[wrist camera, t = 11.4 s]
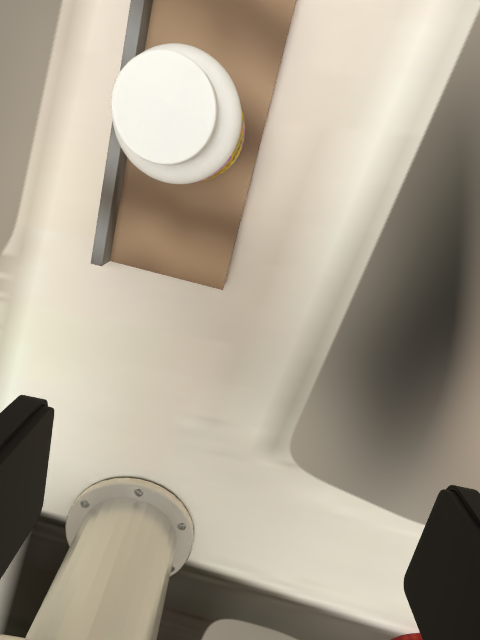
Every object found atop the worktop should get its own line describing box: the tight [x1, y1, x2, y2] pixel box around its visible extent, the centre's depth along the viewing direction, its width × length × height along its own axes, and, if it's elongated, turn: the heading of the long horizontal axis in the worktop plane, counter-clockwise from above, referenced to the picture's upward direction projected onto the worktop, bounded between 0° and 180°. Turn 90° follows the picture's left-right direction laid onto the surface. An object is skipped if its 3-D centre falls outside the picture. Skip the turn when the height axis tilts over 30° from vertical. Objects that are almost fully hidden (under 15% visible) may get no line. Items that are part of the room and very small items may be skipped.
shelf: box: [91, 0, 296, 290], centre depth 32 cm, size 22×10×4 cm, turn 166°
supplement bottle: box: [111, 43, 245, 184], centre depth 26 cm, size 7×7×13 cm
